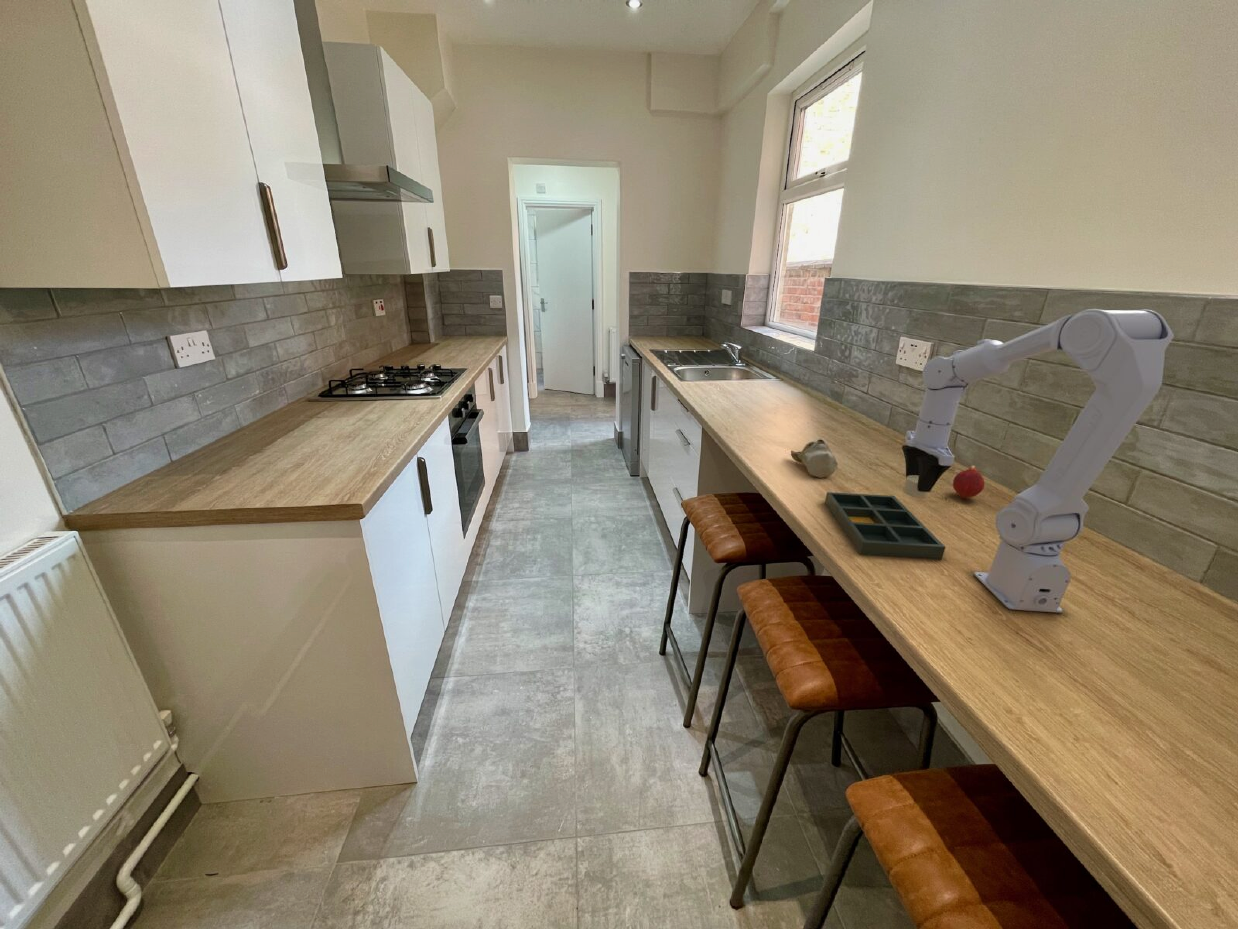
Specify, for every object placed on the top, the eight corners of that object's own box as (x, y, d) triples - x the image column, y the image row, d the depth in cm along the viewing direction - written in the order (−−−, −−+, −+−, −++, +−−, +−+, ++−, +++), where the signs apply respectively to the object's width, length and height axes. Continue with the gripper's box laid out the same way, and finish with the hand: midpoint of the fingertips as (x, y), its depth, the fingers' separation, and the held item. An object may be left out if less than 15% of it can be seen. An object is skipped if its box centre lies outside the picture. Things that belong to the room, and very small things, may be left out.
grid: (941, 559, 88) (945, 547, 87) (860, 554, 89) (862, 542, 88) (891, 506, 108) (894, 495, 107) (824, 502, 109) (826, 492, 108)
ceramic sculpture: (806, 446, 117) (791, 430, 131) (800, 479, 120) (787, 460, 134) (852, 448, 116) (832, 432, 130) (845, 482, 119) (827, 463, 133)
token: (932, 498, 96) (936, 484, 95) (909, 497, 97) (912, 483, 95) (921, 489, 100) (925, 475, 99) (899, 487, 101) (902, 474, 100)
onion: (983, 505, 109) (994, 472, 106) (955, 502, 110) (965, 469, 107) (971, 494, 115) (982, 462, 112) (944, 491, 116) (954, 460, 113)
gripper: (897, 409, 100) (882, 470, 105) (932, 431, 86) (913, 500, 91) (933, 411, 99) (916, 472, 104) (974, 433, 86) (953, 502, 91)
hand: (917, 485), depth 98 cm, fingers closed on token, 4 cm apart
